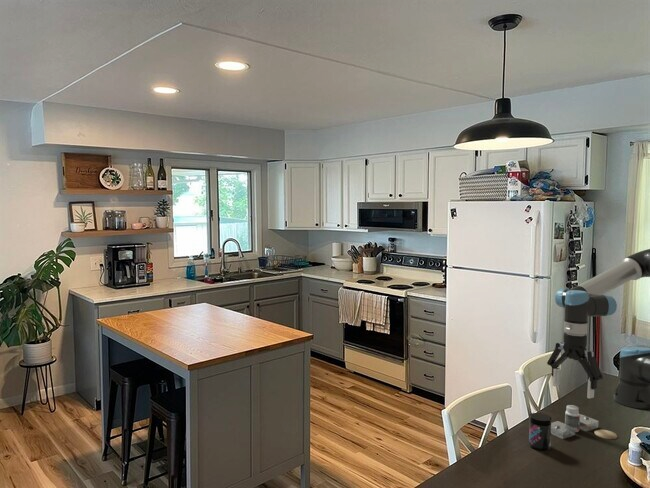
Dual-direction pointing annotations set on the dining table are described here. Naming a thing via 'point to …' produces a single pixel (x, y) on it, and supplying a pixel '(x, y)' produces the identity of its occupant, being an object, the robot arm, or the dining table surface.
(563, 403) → the dining table surface
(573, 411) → the pill bottle
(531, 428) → the supplement container
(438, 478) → the dining table surface
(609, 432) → the cork coaster
